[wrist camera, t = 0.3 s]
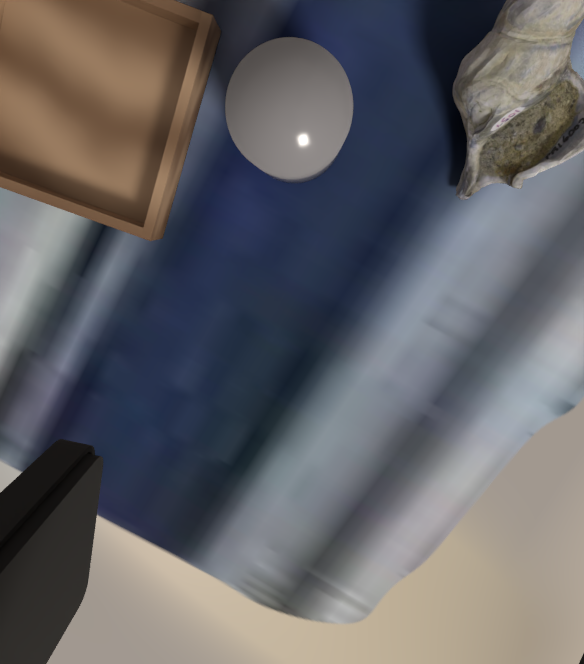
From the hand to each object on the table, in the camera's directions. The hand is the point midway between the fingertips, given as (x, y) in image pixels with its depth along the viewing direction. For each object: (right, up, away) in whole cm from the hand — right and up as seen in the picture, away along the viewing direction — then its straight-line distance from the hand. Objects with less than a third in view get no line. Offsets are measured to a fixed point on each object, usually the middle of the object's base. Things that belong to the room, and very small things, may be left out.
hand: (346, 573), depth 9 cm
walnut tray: (-15, +21, +27) cm, 37 cm away
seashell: (+15, +21, +26) cm, 37 cm away
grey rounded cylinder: (-1, +19, +27) cm, 33 cm away
